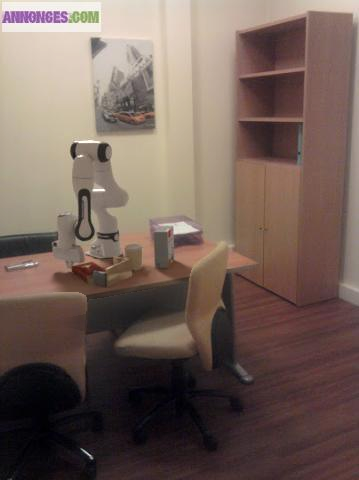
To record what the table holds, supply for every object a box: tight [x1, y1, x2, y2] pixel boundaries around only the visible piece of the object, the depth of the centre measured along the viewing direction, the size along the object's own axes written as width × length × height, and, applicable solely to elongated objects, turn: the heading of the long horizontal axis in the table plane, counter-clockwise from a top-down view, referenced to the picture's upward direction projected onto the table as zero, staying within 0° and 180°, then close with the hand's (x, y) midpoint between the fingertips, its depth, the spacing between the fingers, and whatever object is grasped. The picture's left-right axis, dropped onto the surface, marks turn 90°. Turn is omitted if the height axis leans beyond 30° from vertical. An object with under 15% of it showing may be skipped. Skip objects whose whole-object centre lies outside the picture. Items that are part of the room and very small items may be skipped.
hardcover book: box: [71, 261, 106, 284], centre depth 239 cm, size 12×21×4 cm, turn 34°
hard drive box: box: [153, 224, 175, 269], centre depth 250 cm, size 16×8×20 cm, turn 168°
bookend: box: [93, 271, 108, 288], centre depth 223 cm, size 7×2×7 cm, turn 58°
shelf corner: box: [105, 256, 133, 288], centre depth 230 cm, size 10×18×9 cm, turn 148°
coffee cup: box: [124, 243, 143, 271], centre depth 246 cm, size 9×9×12 cm
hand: (70, 268), depth 246 cm, fingers closed
